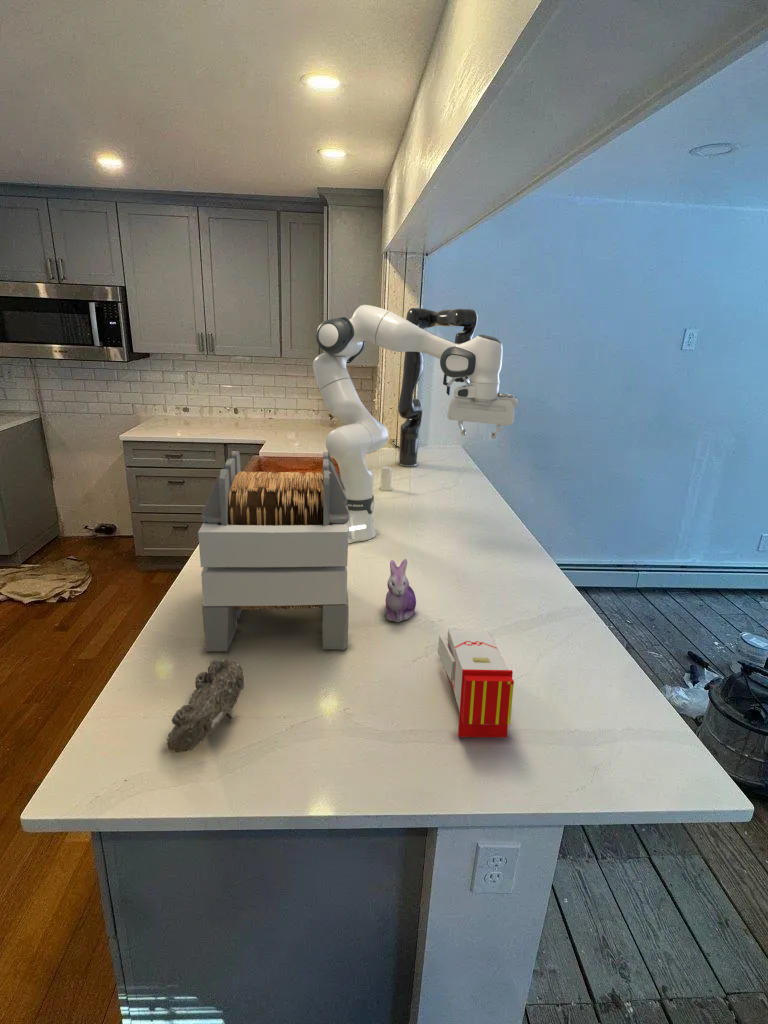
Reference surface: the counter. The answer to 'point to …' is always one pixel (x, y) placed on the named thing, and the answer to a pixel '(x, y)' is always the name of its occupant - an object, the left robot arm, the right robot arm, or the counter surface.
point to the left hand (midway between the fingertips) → (478, 436)
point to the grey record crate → (274, 549)
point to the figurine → (399, 594)
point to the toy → (478, 682)
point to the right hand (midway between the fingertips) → (458, 395)
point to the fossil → (206, 705)
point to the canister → (386, 478)
